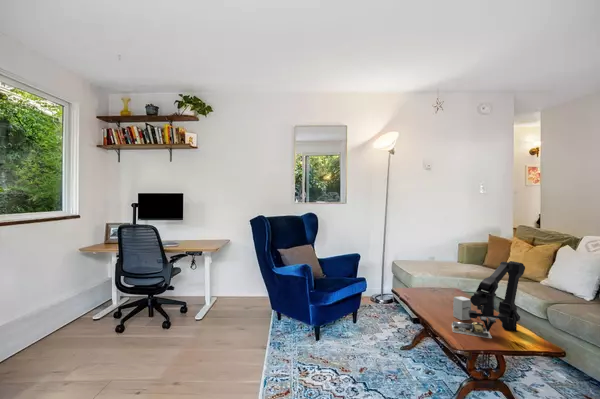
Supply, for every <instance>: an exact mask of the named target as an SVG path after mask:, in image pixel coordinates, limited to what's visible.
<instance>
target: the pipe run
mask: <svg viewBox="0 0 600 399" xmlns="http://www.w3.org/2000/svg"><path fill="white" fill-rule="evenodd" d="M451 329H452V330H451V331H452V332H453V333H455V334H456V333H457V334H461V335H467V336H474V337H481V338H486V339H493V337H492V335H491V333H490V331H489V332H487V330H486V327H484V326H483V332H477V331H473V322H472V323H466V322H460V321H455V320H454V321H452V323H451Z"/></svg>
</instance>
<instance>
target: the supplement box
mask: <svg viewBox="0 0 600 399" xmlns="http://www.w3.org/2000/svg"><path fill="white" fill-rule="evenodd" d="M452 301H453V305H452V306H453V307H452V308H453V309H452V311H453V312H452V314H453V315H452V317H453V318H456V319H458V320H460V321H466V320H467V321H468V320H471V319H472V318H470V317H469V315H468V311H469V310H472V303H471V300H470V298H468V297H465V296H454V297H453V300H452Z"/></svg>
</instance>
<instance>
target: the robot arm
mask: <svg viewBox="0 0 600 399" xmlns="http://www.w3.org/2000/svg"><path fill="white" fill-rule="evenodd" d="M499 264H500V265H498V267H497V268H496V269H495V270H494V271H493V272H492V273H491V275H490V276H488V277H486V278H484V279H483V280H481V281H480V283H479V284H478V286H477V288H476V290H475V292H473V295H471V297H470V298H469V299H470V300H471V305H472V306H474V307H476V309H477V310H479V311H480V312H478V311H476V310H474V309H473V310H472V309H471V310H469V311H468V315H469V317H470V318H471V319H475V320H476V319H478V317H479V319H480V321H481V322H483V325H484V326H485V327H484V328H486V330H487V332H489V333H490V329H492V327H493V326H494V324H497V321H496V320H500V322H501V327H502V329H503V330H504V331H510V332H516V333H517V332H518V328H517V327H518V326H517V324H518V323H517V322H520V320H521V316H520V315H519V313H518V307H517V306H516V297H517V291H518V287H519V280H520V278H521V277H522V276H524V273H525V270H526V266H525V265H524V263H523V262H518V261H513V260H511V261H508V262H507V261H501V262H499ZM506 274H508V279H507V284H506V290H505V295H504V299H503V300H502V301H500V302H499V304H498V307H497V308H498V310H497V311H498V313H497V314H495V313H494V312H495V306H494V305H495V296H497V293H496V291H497V290H498V288H499V283H500V282H501V280H502V279H503V278H504V277H505V276H506Z"/></svg>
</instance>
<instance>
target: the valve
mask: <svg viewBox="0 0 600 399" xmlns="http://www.w3.org/2000/svg"><path fill="white" fill-rule="evenodd" d="M482 322H483V321H481V320H474V321H473V322H472V323H473V331H477V332H483V327H484V322H483V323H482Z"/></svg>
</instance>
